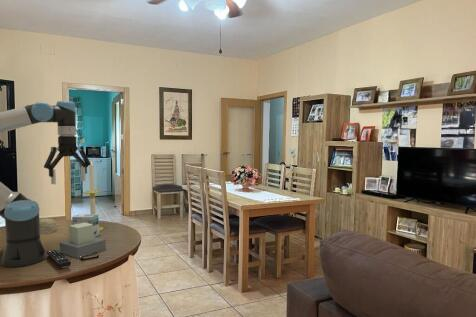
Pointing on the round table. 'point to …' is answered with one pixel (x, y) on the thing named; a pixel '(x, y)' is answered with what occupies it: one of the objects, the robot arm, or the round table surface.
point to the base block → (82, 247)
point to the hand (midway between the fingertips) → (68, 182)
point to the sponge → (47, 226)
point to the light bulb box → (87, 221)
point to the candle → (92, 191)
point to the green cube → (81, 233)
